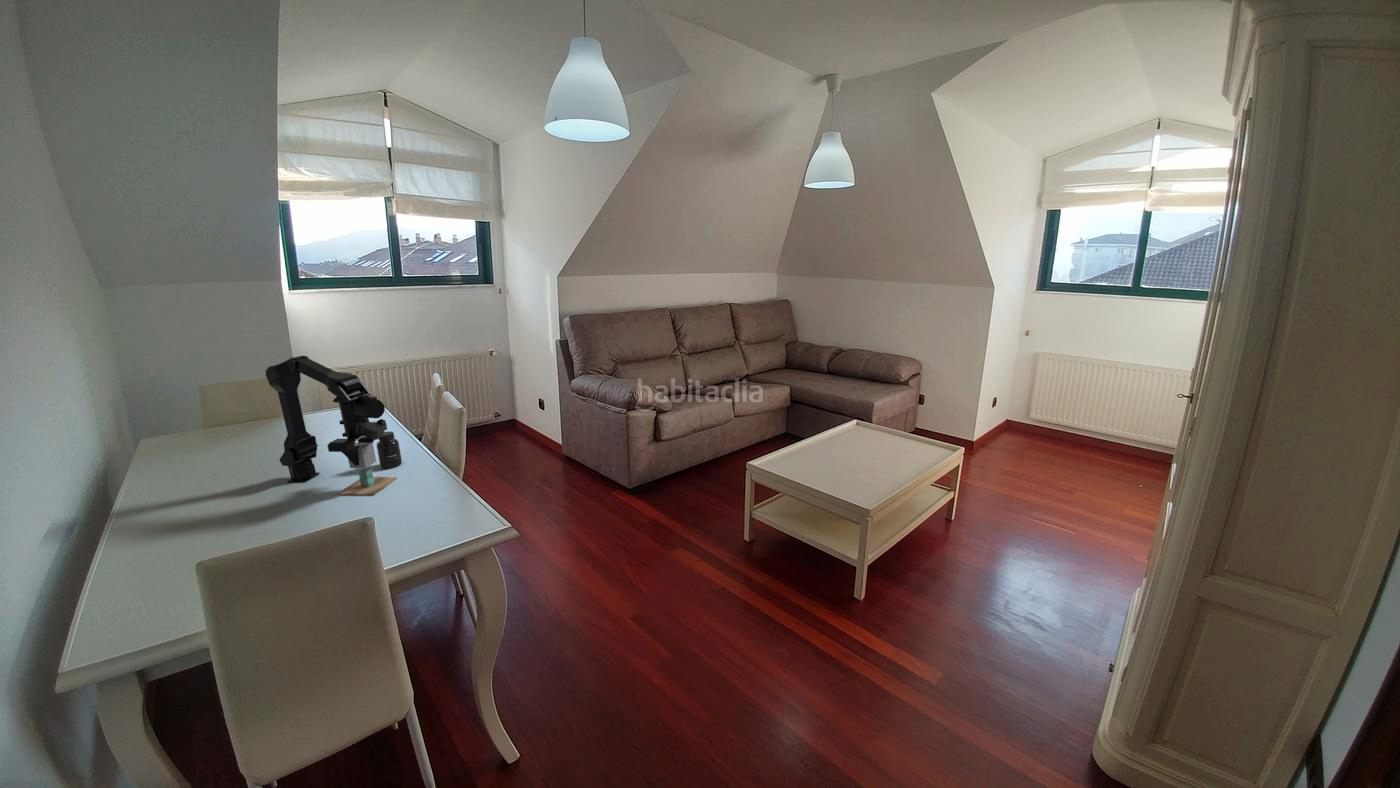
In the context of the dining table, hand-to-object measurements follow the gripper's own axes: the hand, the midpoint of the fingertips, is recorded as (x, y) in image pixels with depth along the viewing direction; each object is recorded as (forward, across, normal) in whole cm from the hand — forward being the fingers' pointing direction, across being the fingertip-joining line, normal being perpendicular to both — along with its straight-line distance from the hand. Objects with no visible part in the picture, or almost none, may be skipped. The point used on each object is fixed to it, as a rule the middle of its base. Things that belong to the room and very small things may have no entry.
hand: (362, 461), depth 172 cm
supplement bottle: (+9, +17, +3) cm, 19 cm away
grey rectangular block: (+1, 0, 0) cm, 1 cm away
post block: (+9, 0, 0) cm, 9 cm away
